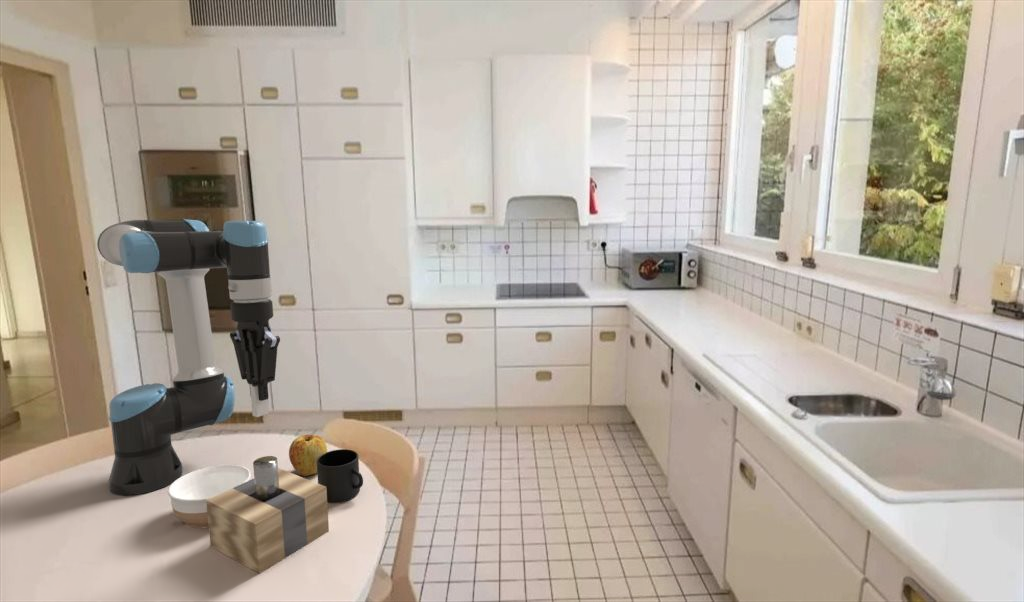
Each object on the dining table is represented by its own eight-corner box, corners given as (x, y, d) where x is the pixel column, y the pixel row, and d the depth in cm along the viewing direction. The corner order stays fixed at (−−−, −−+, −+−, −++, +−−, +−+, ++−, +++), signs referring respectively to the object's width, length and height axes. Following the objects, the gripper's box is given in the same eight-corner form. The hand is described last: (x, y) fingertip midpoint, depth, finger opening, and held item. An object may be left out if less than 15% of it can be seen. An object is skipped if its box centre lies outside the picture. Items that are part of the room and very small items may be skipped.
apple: (314, 461, 145) (312, 425, 144) (335, 470, 140) (333, 434, 138) (283, 474, 138) (281, 437, 136) (304, 484, 133) (301, 446, 131)
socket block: (210, 546, 108) (206, 500, 107) (280, 509, 122) (277, 467, 120) (259, 573, 100) (255, 524, 99) (328, 530, 114) (326, 486, 112)
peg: (251, 504, 109) (248, 462, 107) (271, 494, 113) (268, 454, 111) (265, 510, 107) (262, 468, 105) (284, 500, 110) (281, 459, 109)
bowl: (269, 504, 124) (266, 472, 122) (204, 543, 109) (200, 507, 108) (221, 489, 130) (218, 458, 129) (154, 523, 116) (150, 489, 115)
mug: (349, 510, 122) (347, 472, 120) (309, 497, 127) (307, 461, 125) (376, 490, 130) (375, 455, 129) (338, 480, 135) (336, 446, 134)
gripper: (213, 300, 106) (224, 414, 110) (254, 304, 100) (264, 426, 103) (248, 295, 113) (257, 403, 116) (289, 299, 106) (297, 414, 109)
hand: (261, 414), depth 110 cm, fingers closed
